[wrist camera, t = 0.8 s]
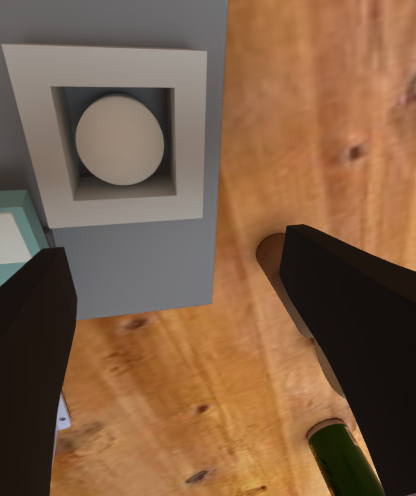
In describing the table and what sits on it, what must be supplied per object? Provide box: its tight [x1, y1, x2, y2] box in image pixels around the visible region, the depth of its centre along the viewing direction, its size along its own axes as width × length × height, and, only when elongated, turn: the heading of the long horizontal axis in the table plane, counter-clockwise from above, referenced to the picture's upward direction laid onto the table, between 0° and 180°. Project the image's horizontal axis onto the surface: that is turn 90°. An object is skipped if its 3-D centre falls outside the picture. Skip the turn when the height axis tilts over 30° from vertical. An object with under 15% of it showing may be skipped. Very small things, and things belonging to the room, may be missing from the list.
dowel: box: [256, 233, 314, 338], centre depth 21 cm, size 3×3×7 cm
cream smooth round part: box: [76, 93, 164, 185], centre depth 14 cm, size 4×4×2 cm
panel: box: [0, 0, 228, 320], centre depth 16 cm, size 18×16×4 cm
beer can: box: [308, 419, 385, 496], centre depth 36 cm, size 5×5×12 cm
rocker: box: [0, 190, 49, 286], centre depth 16 cm, size 8×4×1 cm, turn 179°
